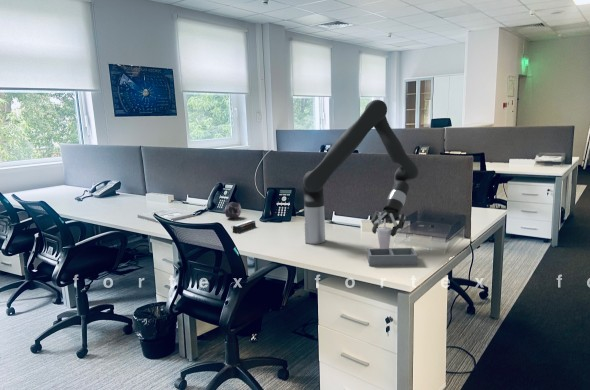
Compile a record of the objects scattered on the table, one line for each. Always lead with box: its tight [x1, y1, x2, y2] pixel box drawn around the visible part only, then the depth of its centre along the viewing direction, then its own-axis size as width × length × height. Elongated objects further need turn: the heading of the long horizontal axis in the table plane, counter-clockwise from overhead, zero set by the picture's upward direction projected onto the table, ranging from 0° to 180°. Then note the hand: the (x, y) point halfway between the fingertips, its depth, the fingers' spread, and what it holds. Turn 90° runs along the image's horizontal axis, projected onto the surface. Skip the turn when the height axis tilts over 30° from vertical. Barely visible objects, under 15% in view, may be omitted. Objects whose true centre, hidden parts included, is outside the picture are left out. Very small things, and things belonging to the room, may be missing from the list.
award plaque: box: [137, 207, 198, 224], centre depth 269 cm, size 25×30×2 cm
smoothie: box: [376, 219, 392, 248], centre depth 180 cm, size 6×6×14 cm
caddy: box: [366, 247, 418, 267], centre depth 167 cm, size 18×10×4 cm, turn 85°
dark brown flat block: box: [231, 219, 257, 234], centre depth 228 cm, size 14×25×4 cm, turn 145°
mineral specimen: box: [224, 201, 242, 219], centre depth 254 cm, size 10×10×10 cm
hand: (382, 234), depth 179 cm, fingers open, 8 cm apart
